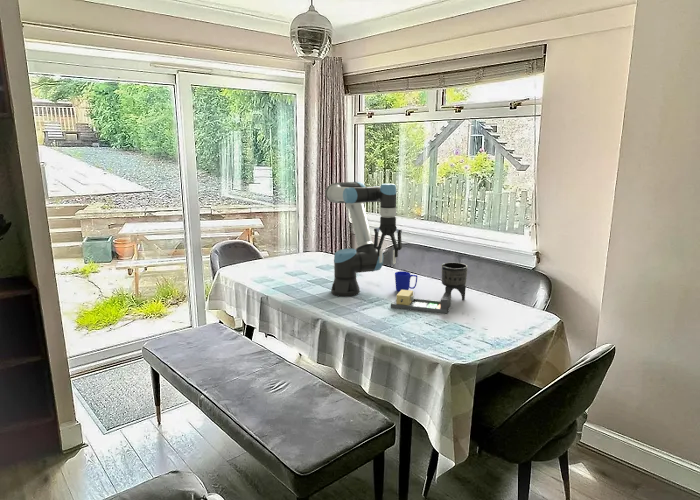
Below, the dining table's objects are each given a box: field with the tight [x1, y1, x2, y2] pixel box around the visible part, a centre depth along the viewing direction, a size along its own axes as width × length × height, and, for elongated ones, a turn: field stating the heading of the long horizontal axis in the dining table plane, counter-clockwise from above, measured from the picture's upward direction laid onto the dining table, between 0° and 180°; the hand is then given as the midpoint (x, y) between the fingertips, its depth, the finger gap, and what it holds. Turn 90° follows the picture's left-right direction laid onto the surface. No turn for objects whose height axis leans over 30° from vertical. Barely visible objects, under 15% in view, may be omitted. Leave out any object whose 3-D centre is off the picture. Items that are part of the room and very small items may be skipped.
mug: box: [394, 271, 418, 293], centre depth 255 cm, size 8×12×10 cm
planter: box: [441, 261, 469, 301], centre depth 241 cm, size 13×13×18 cm
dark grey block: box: [440, 291, 452, 312], centre depth 226 cm, size 3×12×6 cm, turn 160°
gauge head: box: [395, 289, 415, 305], centre depth 231 cm, size 7×12×5 cm, turn 160°
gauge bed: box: [390, 297, 452, 315], centre depth 231 cm, size 27×12×2 cm, turn 70°
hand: (387, 262), depth 232 cm, fingers open, 6 cm apart
